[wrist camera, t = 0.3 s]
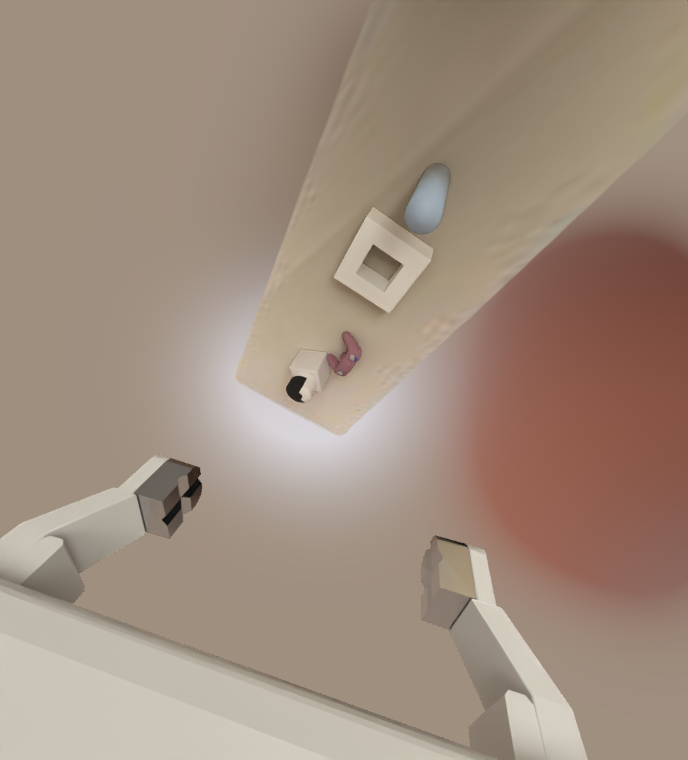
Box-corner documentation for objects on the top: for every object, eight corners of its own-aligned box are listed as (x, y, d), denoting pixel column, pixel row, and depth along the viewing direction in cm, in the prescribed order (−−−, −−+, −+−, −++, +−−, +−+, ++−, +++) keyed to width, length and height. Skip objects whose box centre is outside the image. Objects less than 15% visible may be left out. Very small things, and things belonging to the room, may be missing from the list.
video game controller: (342, 358, 77) (345, 382, 74) (325, 355, 75) (328, 379, 72) (361, 333, 70) (366, 358, 66) (343, 328, 68) (347, 354, 64)
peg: (443, 156, 43) (432, 186, 32) (454, 184, 45) (447, 222, 34) (417, 174, 46) (398, 208, 35) (428, 200, 47) (414, 240, 37)
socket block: (373, 206, 50) (366, 216, 47) (433, 249, 52) (431, 260, 49) (340, 266, 59) (333, 277, 56) (393, 301, 61) (389, 313, 58)
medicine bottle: (305, 370, 82) (286, 403, 74) (300, 348, 77) (279, 381, 69) (330, 373, 80) (314, 408, 72) (327, 351, 75) (309, 386, 67)
